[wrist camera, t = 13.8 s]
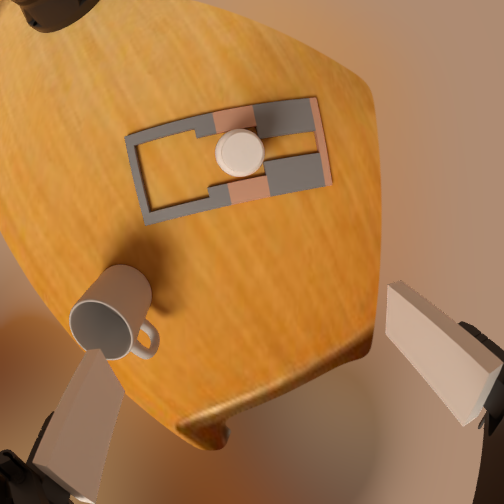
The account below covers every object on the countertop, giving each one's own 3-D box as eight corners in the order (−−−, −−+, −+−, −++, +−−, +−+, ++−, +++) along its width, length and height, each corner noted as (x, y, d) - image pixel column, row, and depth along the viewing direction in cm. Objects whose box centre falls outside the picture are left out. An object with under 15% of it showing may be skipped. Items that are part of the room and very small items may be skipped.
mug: (89, 289, 37) (57, 327, 27) (120, 251, 36) (89, 283, 26) (147, 340, 41) (132, 387, 31) (182, 308, 40) (172, 354, 29)
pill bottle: (207, 146, 34) (204, 141, 25) (244, 126, 33) (252, 115, 25) (229, 182, 35) (232, 188, 27) (264, 162, 35) (279, 162, 27)
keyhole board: (126, 137, 32) (124, 136, 31) (314, 98, 33) (316, 97, 32) (146, 224, 36) (145, 225, 35) (330, 184, 37) (332, 185, 36)
